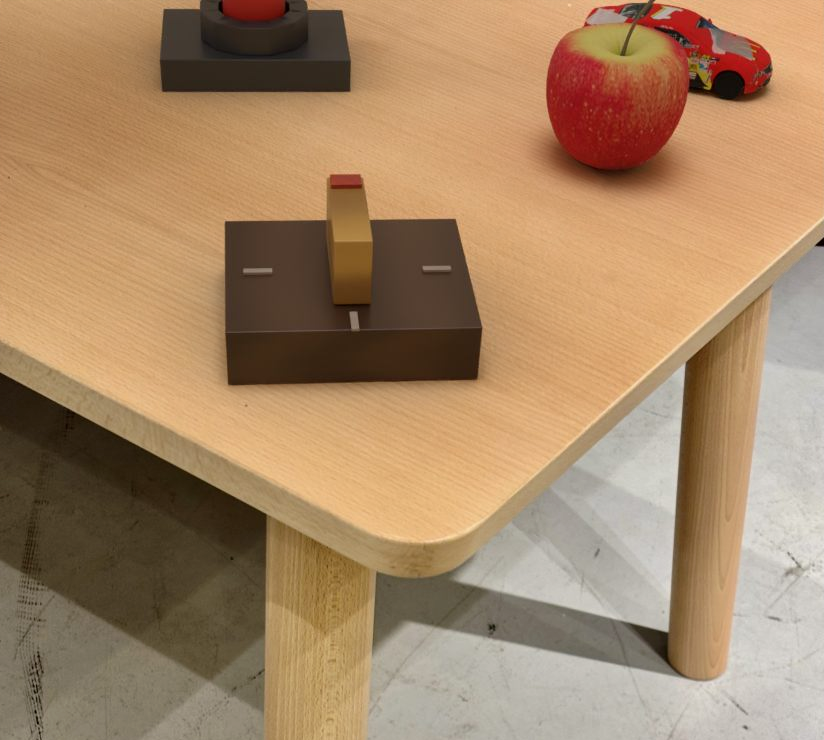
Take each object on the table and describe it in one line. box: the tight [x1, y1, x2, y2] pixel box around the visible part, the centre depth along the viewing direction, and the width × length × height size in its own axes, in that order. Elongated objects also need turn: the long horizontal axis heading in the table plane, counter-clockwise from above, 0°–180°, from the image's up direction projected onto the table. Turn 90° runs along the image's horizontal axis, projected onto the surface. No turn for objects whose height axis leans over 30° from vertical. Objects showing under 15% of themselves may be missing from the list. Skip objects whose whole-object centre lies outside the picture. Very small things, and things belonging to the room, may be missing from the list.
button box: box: [159, 0, 352, 93], centre depth 90 cm, size 12×8×4 cm, turn 96°
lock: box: [325, 173, 373, 305], centre depth 67 cm, size 6×2×4 cm, turn 6°
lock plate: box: [224, 218, 483, 385], centre depth 69 cm, size 12×10×3 cm
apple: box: [545, 0, 690, 171], centre depth 81 cm, size 8×8×10 cm
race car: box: [582, 2, 774, 100], centre depth 93 cm, size 13×5×4 cm, turn 69°
